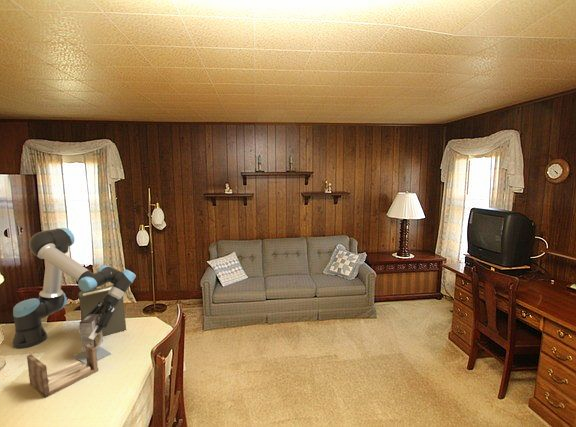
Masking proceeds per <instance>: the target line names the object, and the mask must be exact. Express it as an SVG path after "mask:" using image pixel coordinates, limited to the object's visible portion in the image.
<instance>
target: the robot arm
mask: <svg viewBox="0 0 576 427" xmlns="http://www.w3.org/2000/svg"><path fill="white" fill-rule="evenodd" d="M74 243H75V236H74V234H73V233H72V231H71V230H70V229H69V228H66V227H61V228H60V227H58V228H54V229H49V230H43V231H38V232H36V233H34V234H33V235H32V236H31V237H30V239H29V242H28V247H29V250H30V252H31V253H32V254H33V255H34V256H35V257H37V258H39V259H41V260H45V267H44V268H45V269H44V277H43V285H42V286H43V288H42V290H40V292H39V294H38V298H35V297H33V298H28V299H24V300H22V301H19V302H18V303H16V304H15V305H14V306H13V309H12V311H13V313H12V316H13V320H14V329H15V333H14V337H13V340H12V347H13V348H14V349H26V348H30V347H34V346H36V345H39V344H41V343H42V342H44V341H46V339H47V338H48V335H47V331H46V329H45V328H44V326H43V323H42V319H44V318H46V317H49V316H50V315H53V314H55V313H57V312H59V311H61V310H63V309H64V308H65V306H66V305H67V302H68V297H67V296H66V293H65V292H64V291H63V290H62V281H63V280H62V279H63V273H65V275H67V276H69V277H70V278H71V279H73V280H75V281H76V282H77V286H78V288H79V290H80V291H81V292H82V291H85V292H86V291H90V290H93V289H97V288H100V287H101V286H103V285H105V284H108V283H111V284H112V285H113V284H114V285H113V286H112V288H111V289H110V290H109V292H108V294H106V296H105V297H104V299H103V300H104V302H103V303H100V302H99V303H98V304H97V305H96V306H95V308H94V309H93V310H92V311H91V312H90V313H89V314H101V313H102V316H101V319H100V322H99V324H98V326H96V327H95V329H94V330H93V332H92V333H91V335H90V336H89V337H88V338H90V339H92V340H94V338H95V337H96V335H97V334H98V333H99V332H100V330H101V329H102V328H103V327H107V325H108V322H109V320H110V318H111V316H112V314H113V313H114V311H115V309H114V308H113V306H116V305H117V304H118V302H119V299H121V298H122V296H123V297H124V295H125V293H126V292H127V291H128V289H129V287H130V286H131V285H132V284H133V283H134V280H135V279H136V277H137V275H136V274H135V273H134V272H132V271H131V270H129V269H124V270H123V271H121V270H118V269H116V268H114V267H113V266H110V265H104V264H103V265H102V266H101V267H99V268H98V270H97V272H95V273H94V272H92V271H91V270H89V269H87V267H84V265H82V264H80V263H79V262H77V261H76V260H74V259H73V258H72V257H70V256H69V255H67V253H68V252H69V247H71V246H72V245H73V244H74ZM77 332H78V334H81V333H80V329H78V331H77Z"/></svg>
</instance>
